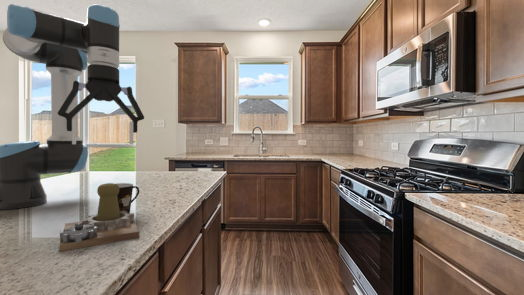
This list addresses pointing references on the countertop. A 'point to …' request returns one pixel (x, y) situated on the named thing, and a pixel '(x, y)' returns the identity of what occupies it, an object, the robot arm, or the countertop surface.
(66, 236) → the gear
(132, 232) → the gear board
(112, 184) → the cork
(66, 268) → the countertop surface
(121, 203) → the coffee mug
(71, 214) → the countertop surface
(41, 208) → the countertop surface
